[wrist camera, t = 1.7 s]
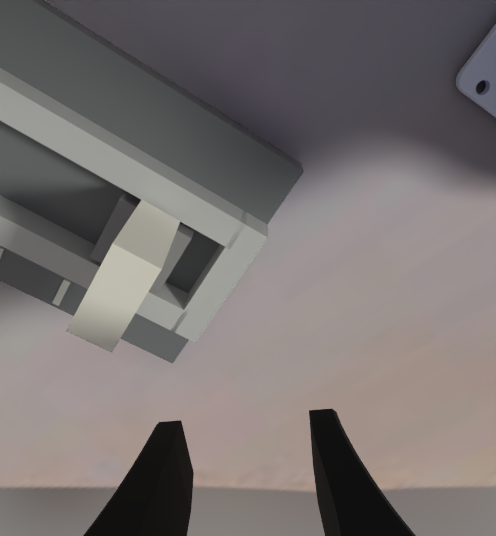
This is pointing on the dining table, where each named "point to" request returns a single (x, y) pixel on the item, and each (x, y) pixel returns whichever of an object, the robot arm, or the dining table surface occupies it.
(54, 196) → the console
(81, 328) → the fader
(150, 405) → the dining table surface
